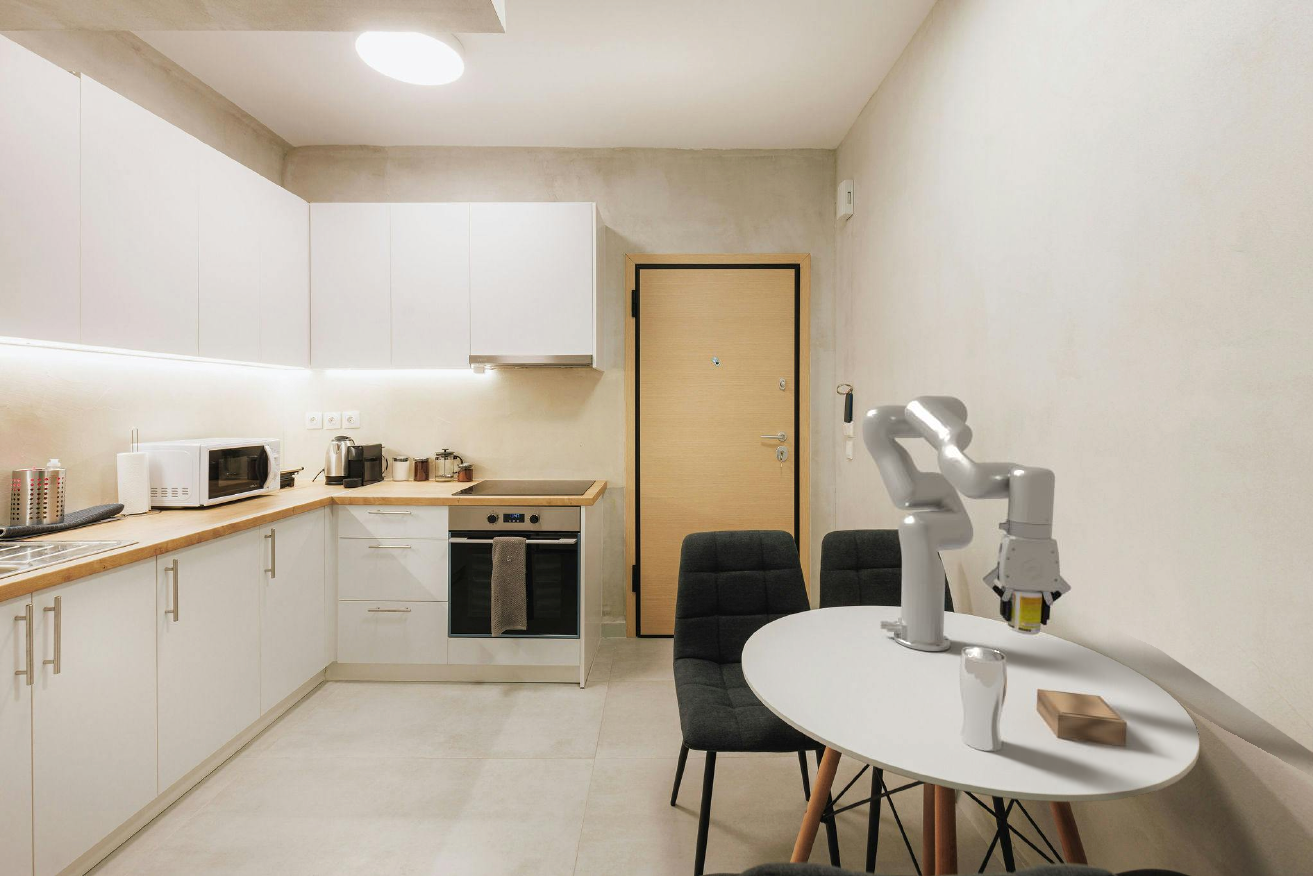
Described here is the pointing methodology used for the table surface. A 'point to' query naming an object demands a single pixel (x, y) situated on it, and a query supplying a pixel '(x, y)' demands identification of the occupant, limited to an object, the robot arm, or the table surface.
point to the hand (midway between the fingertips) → (1024, 620)
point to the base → (1081, 717)
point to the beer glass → (982, 696)
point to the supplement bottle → (1026, 611)
